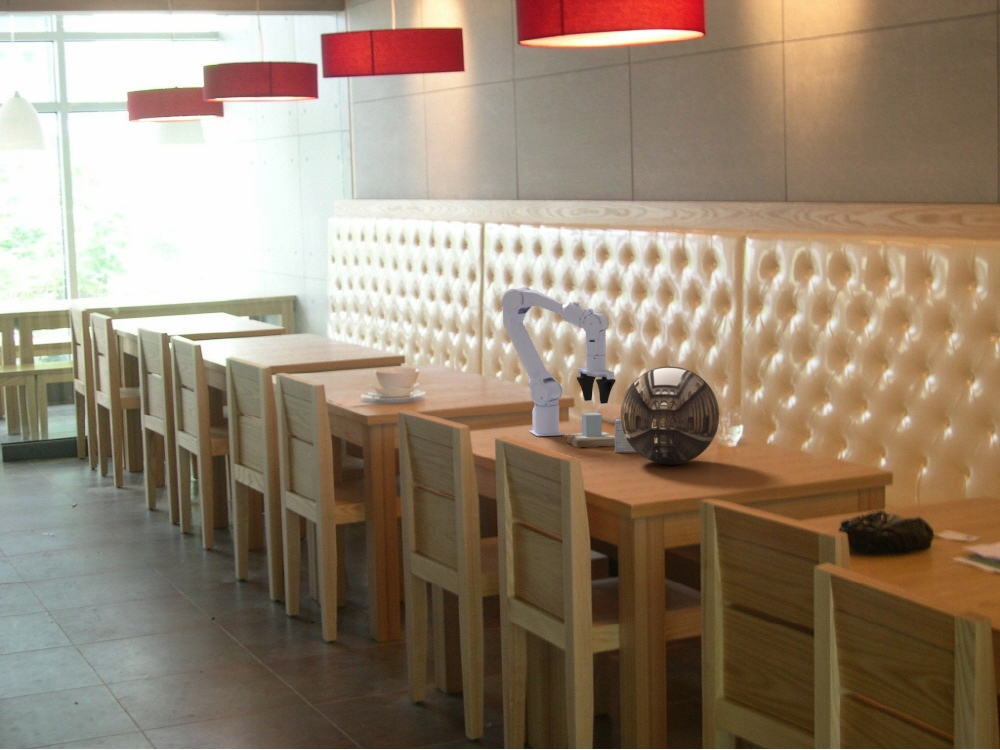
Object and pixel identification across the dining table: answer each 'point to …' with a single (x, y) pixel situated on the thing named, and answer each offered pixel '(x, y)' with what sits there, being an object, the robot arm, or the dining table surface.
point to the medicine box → (621, 439)
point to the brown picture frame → (591, 440)
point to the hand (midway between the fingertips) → (595, 401)
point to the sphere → (669, 415)
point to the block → (591, 424)
